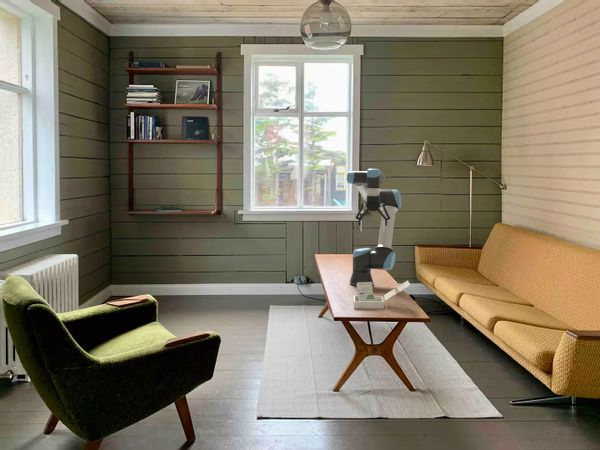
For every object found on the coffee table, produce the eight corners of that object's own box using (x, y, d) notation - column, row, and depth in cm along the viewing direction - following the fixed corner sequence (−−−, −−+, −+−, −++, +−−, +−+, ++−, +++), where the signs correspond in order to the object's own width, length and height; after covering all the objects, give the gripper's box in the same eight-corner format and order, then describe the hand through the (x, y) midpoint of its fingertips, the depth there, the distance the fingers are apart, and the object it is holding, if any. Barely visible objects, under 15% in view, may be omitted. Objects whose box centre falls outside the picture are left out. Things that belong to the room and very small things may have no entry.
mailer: (353, 302, 355) (353, 295, 355) (382, 303, 354) (382, 296, 354) (354, 308, 343) (354, 301, 342) (383, 308, 342) (383, 301, 341)
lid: (407, 280, 351) (408, 280, 351) (383, 295, 353) (384, 295, 353) (410, 285, 339) (410, 285, 339) (385, 300, 341) (385, 301, 341)
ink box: (373, 303, 350) (371, 287, 358) (374, 298, 346) (371, 281, 355) (358, 304, 350) (356, 287, 358) (358, 298, 346) (356, 282, 355)
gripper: (351, 195, 363) (351, 231, 365) (395, 195, 361) (394, 232, 364) (351, 194, 370) (351, 230, 373) (394, 194, 369) (393, 230, 371)
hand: (372, 231), depth 368 cm, fingers open, 13 cm apart
